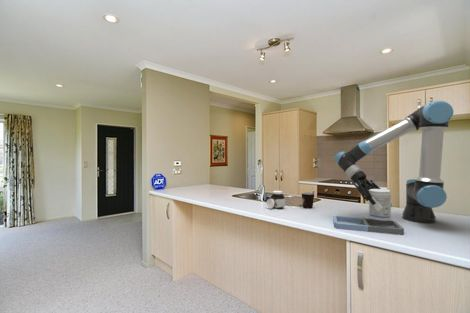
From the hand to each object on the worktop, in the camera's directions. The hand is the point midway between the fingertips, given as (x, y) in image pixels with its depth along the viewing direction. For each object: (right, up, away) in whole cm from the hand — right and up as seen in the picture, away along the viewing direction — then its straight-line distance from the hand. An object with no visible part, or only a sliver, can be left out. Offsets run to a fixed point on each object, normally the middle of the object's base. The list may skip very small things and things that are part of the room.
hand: (386, 208), depth 120 cm
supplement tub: (-1, -6, +3) cm, 7 cm away
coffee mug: (-24, -10, +50) cm, 57 cm away
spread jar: (-48, -10, +47) cm, 68 cm away
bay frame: (-8, -11, +5) cm, 14 cm away
